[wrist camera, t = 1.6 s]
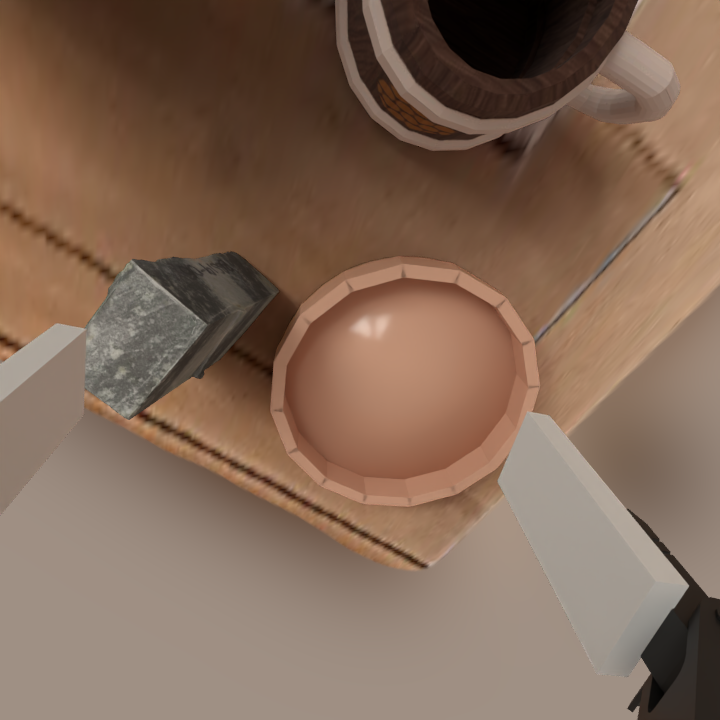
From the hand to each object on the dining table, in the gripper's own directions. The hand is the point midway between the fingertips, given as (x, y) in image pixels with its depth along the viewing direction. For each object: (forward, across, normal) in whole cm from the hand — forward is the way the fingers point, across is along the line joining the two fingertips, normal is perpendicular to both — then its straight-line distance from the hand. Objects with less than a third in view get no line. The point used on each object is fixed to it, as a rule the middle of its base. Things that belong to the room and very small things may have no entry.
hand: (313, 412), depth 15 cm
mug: (+27, +8, +15) cm, 32 cm away
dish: (+27, +10, -10) cm, 30 cm away
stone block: (+27, -8, -6) cm, 29 cm away
